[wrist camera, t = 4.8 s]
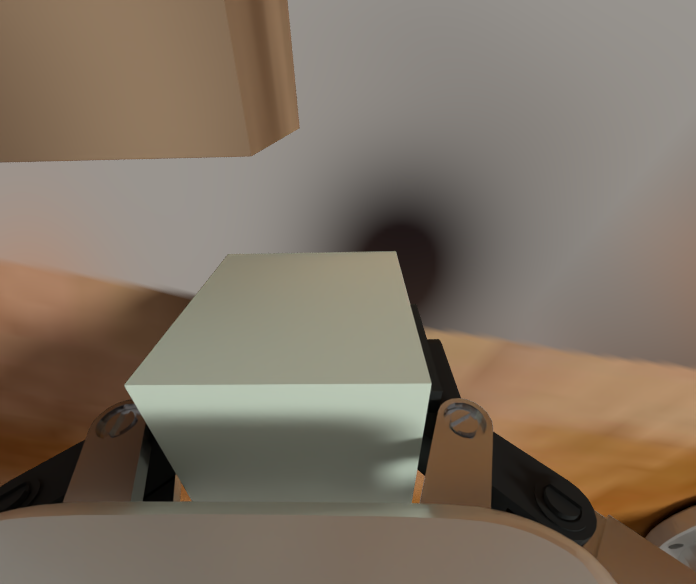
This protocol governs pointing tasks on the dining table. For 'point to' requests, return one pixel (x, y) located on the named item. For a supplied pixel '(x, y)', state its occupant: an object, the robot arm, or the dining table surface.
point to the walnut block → (144, 79)
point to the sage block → (291, 382)
